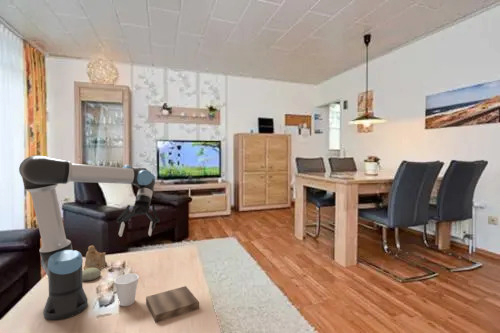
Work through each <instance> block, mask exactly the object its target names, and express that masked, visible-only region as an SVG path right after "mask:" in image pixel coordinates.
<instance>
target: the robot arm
mask: <svg viewBox="0 0 500 333" xmlns="http://www.w3.org/2000/svg"><path fill="white" fill-rule="evenodd" d="M18 172H19V174H20V177H21V178H22V182H23V187H24V190H25V191H27V192H28V193H30V195H31V200H32V204H33V208H34V213H35V217H36V221H37V226H38V230H39V235H40V238H41V242H42V243H41V244H42V246H41V247H40V248H39V256H40V264H41V267H42V269H43V271H45V273H46V275H47V278H48V280H47V281H48V296H47V299H46V302H45V305H44V308H43V317H44V319H46V320H49V321H59V320H65V319H68V318H69V319H70V318H71V317H74V316H76V315H78V314H80V313H82V312H83V311H85V309H86V308H88V304H89V303H88V297H87V295H86V292H85V290H84V286H83V282H84V281H83V280H82V272H83V262H84V260H83V255H82V253H81V252H80V251H78V250H76V249H75V250H73V249H74V248H73V245H72V241H71V240H70V239H68V238H67V236H66V232H65V227H64V222H63V219H62V213H61V209H60V203H59V200H58V194H57V191H56V190H57V189H56V188H57V187H58V186H59V184H62V185H63V184H64V185H66V184H68V183H70V182H71V183H72V182H74V183H75V182H76V183H99V184H100V183H101V184H120V185H121V184H122V185H123V184H125V185H133V186H136V187H137V188H138V189H137V193H136V197H135V201H134V205H130V204H128V205H127V206H126V208H125V209H124V210H123V212H122V213H120V215H119V216H118V217H117V218H116V219H115V220H116V222H117V224H118V230H119V231H118V236H119V237H122V236H123V233H124V230H125V226H126V224H125V223H126V222H128V221H129V220H130V219H131V218H133V217H134V216H136V215H137V216H139V215H146V216H147V218H148V219H149V220H150V223H149V228H148V232H147V233H148V236H149V237H151V236H152V232H153V230H155V227H156V224H157V223H158V224H159V223H160V222H161V221H160V218H159V216H158V212H157V210H156V204H153V205H151V203H152V197H153V192H154V188H155V185H156V176H155V175H154V173H152V172H151V171H149V170H148V169H140V168H135V167H133V166H132V165H129V164H124V166H122V167H118V166H106V165H105V166H104V165H94V164H93V165H92V164H83V163H73V162H71V161H70V160H66V159H64V160H63V159H58V158H53V157H49V156H45V155H40V154H39V155H31V156H29V157H26V158H25V159H24V160H22V162H21V163H20V164H19V168H18ZM149 210H151V211H152V212H153V215H154V217H153V216H152V214H151V213H150V212H149Z"/></svg>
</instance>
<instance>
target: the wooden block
mask: <svg viewBox="0 0 500 333" xmlns="http://www.w3.org/2000/svg"><path fill="white" fill-rule="evenodd" d="M145 303H146V306H147V308H148V310H149V312H150V315H151V317H152V319H153V320H154V322H155V324H157V323H160V322H161V321H162V322H163V321H165V320H168V319H171V318H174V317H178V316H180V315H183V314H186V313H189V312H193V311H196V310H199V309H200V300H198V299H197V297H196V296H195V295H194V294H193V293H192V292H191V291H190V289H189V287H187V286H186V285H184V286H181V287H177V288H174V289H170V290H166V291H162V292H159V293H158V292H157V293H155V294H151V295H149V296H145Z"/></svg>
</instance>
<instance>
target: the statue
mask: <svg viewBox="0 0 500 333" xmlns="http://www.w3.org/2000/svg"><path fill="white" fill-rule="evenodd" d="M106 253H107V252H106V251H105V252H99V251H98V250H97V249H96V247H95V245H89V246H88V248H87V252H86V254H85V261H84V266H83V269H84V270H85V269H87V268H91V267H92V268H97V269H99V270H101V269H103V268H105V267H106V266H107V265H108V263H107V261H106ZM105 265H106V266H105ZM104 266H105V267H104ZM102 267H103V268H102ZM100 268H101V269H100ZM84 270H83V271H84Z"/></svg>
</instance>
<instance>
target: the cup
mask: <svg viewBox="0 0 500 333" xmlns="http://www.w3.org/2000/svg"><path fill="white" fill-rule="evenodd" d="M139 279H140V278H139V274H138V273H131V272H130V273H125V274H121V275H119V276H117V277H115V278H114V280H113V282H114V286H115V289H116V290H115V291H116V295H117V300H118V299H119V301H120V305H119V306H121V307H129V306H131V305H132V304H134V303H135V301H136V294H137V287H138V283H139V282H138V281H139ZM119 301H118V302H119Z"/></svg>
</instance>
